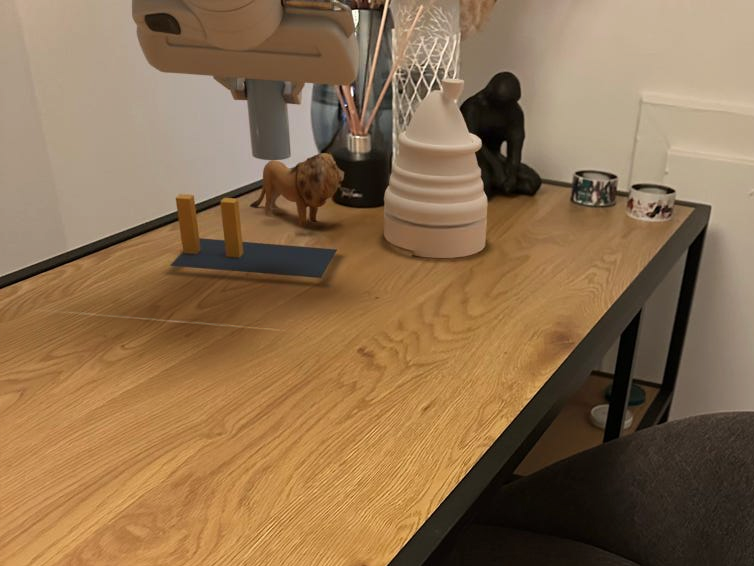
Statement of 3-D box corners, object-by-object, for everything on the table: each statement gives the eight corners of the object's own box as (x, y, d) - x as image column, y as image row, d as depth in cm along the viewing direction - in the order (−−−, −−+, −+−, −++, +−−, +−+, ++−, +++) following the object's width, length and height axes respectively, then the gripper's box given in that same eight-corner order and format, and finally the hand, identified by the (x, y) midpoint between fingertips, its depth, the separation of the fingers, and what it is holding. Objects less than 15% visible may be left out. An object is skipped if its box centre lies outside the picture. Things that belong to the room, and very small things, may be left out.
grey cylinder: (247, 158, 97) (237, 45, 91) (257, 149, 100) (247, 39, 94) (286, 161, 97) (277, 48, 91) (294, 152, 100) (287, 42, 94)
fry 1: (183, 253, 108) (175, 197, 104) (187, 249, 109) (179, 193, 105) (196, 254, 108) (189, 198, 104) (200, 250, 109) (193, 195, 105)
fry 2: (226, 256, 108) (220, 201, 104) (229, 252, 109) (223, 197, 105) (240, 258, 108) (234, 202, 104) (243, 253, 109) (238, 198, 105)
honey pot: (505, 242, 120) (517, 81, 108) (442, 265, 112) (448, 93, 100) (427, 219, 125) (431, 63, 114) (362, 239, 117) (359, 74, 106)
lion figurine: (352, 229, 120) (349, 152, 114) (326, 239, 116) (322, 160, 111) (263, 206, 125) (257, 132, 120) (236, 215, 122) (228, 138, 116)
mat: (170, 270, 105) (169, 265, 105) (196, 242, 113) (196, 237, 112) (321, 283, 105) (321, 277, 104) (337, 254, 112) (337, 249, 112)
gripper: (353, -35, 82) (372, 74, 96) (121, -52, 82) (174, 59, 96) (346, 32, 81) (366, 132, 95) (113, 15, 82) (167, 117, 95)
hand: (268, 96), depth 96 cm, fingers closed on grey cylinder, 4 cm apart
